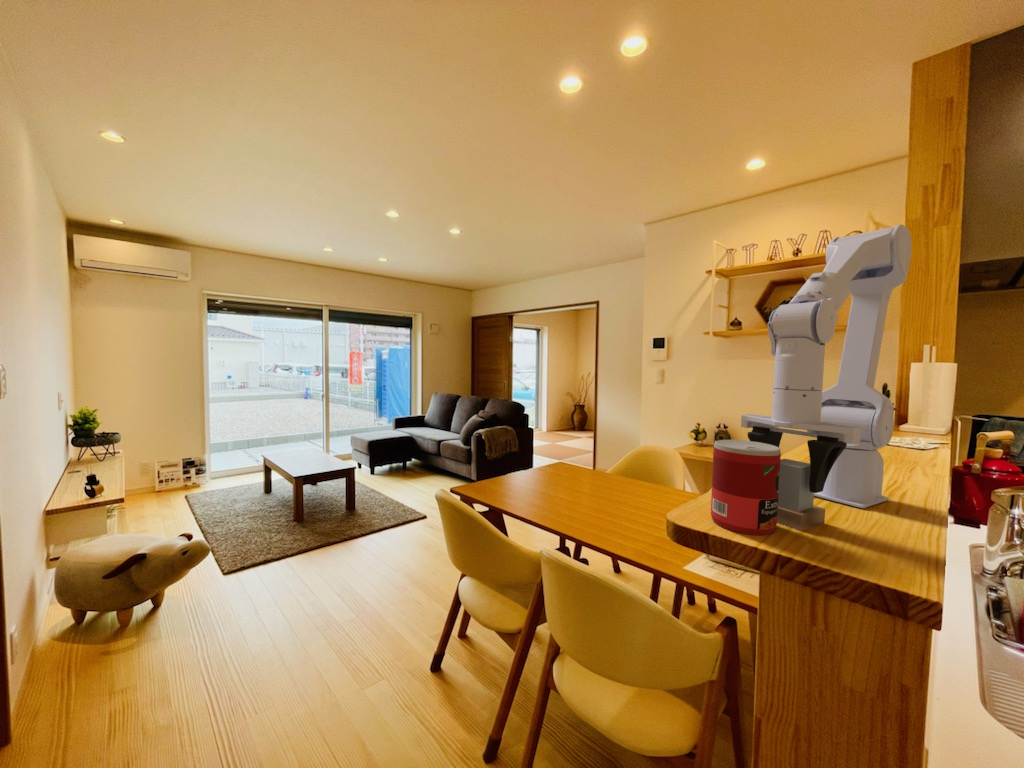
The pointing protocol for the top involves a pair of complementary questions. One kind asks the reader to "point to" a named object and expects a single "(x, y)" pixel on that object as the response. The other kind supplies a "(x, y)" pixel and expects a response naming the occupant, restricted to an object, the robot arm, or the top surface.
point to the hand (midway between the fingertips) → (791, 485)
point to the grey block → (795, 485)
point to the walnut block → (801, 517)
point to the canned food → (745, 486)
